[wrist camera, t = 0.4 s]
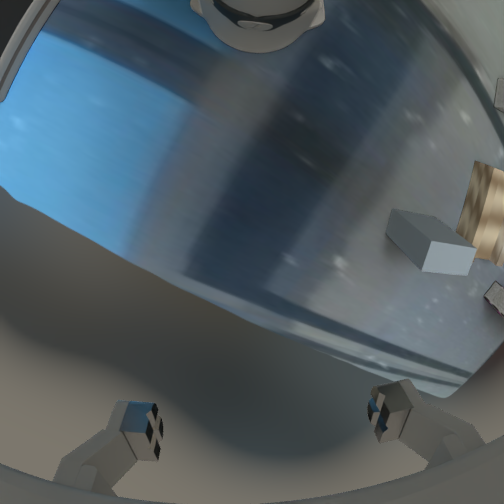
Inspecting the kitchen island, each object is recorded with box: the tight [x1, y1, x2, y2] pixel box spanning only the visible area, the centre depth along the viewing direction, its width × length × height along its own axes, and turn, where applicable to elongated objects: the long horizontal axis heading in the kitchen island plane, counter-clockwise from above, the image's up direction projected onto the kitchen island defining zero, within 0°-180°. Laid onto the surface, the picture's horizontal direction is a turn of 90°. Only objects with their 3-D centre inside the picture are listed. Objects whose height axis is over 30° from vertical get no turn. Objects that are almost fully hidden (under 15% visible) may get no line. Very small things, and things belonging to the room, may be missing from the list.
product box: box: [386, 209, 477, 276], centre depth 44 cm, size 5×9×13 cm, turn 83°
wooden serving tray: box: [456, 161, 504, 266], centre depth 46 cm, size 17×11×6 cm, turn 173°
